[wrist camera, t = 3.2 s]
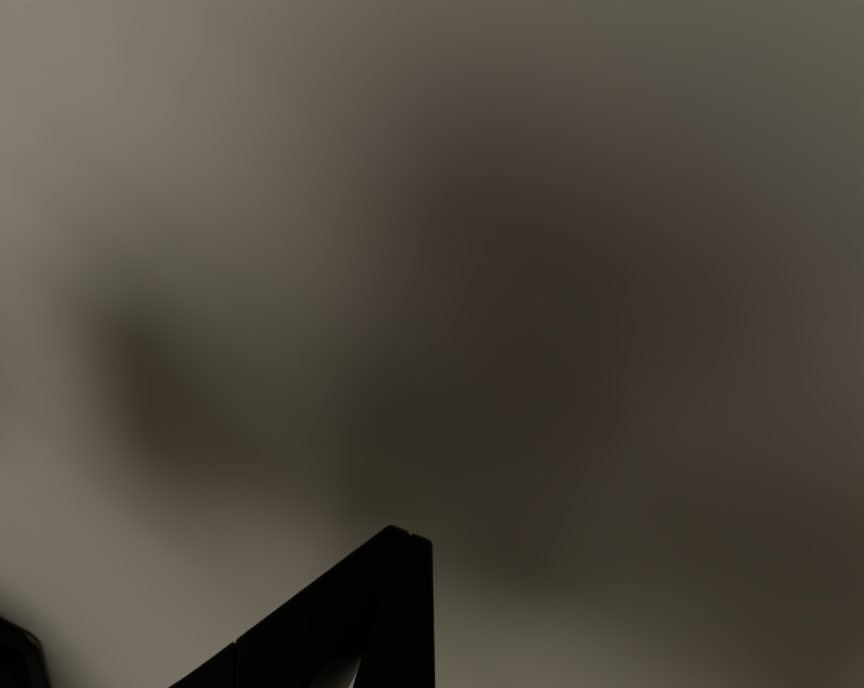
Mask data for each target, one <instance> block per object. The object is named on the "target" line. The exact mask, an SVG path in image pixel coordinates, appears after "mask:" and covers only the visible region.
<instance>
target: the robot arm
mask: <svg viewBox="0 0 864 688" xmlns="http://www.w3.org/2000/svg"><path fill="white" fill-rule="evenodd" d="M357 671H358V672H357ZM356 673H357V675H356V678H355V682H354V685H353V688H435V646H434V598H433V549H432V542H431V541H430V540H429V539H426V538H424V537H421V536H419V535H417V534H411V535H410V533H409V532H408V531H407V530H404V529H402V528H399V527H397V526H394V525H388V526H387V527H385V528H384V529H382V530H381V531H380V532H378V533H377V534H376V535H374V536H373V537H372V538H371V539H369V540H368V541H367V542H365V543H364V544H363V545H361V546H360V547H359V548H357V549H356V550H355V551H353V552H352V553H351V554H349V555H348V556H347V557H345V558H344V559H343V560H341V561H340V562H339V563H337V564H336V565H335V566H333V567H332V568H331V569H329V570H328V571H327V572H325V573H324V574H323V575H321V576H320V577H319V578H317V579H316V580H315V581H313V582H312V583H311V584H309V585H308V586H307V587H305V588H304V589H303V590H301V591H300V592H299V593H297V594H296V595H295V596H293V597H292V598H291V599H289V600H288V601H287V602H285V603H284V604H283V605H281V606H280V607H279V608H277V609H276V610H275V611H273V612H272V613H271V614H269V615H268V616H267V617H265V618H264V619H263V620H261V621H260V622H259V623H257V624H256V625H255V626H253V627H252V628H251V629H249V630H248V631H247V632H245V633H244V634H243V635H241V636H240V637H239V638H238V639H237V640H236V643H235V642H232V643H230V644H229V645H228V646H226V647H225V648H224V649H222V650H221V651H220V652H219V653H217V654H216V655H215V656H213V657H212V658H210V659H209V660H208V661H206V662H205V663H203V664H202V665H201V666H199V667H198V668H196V669H195V670H194V671H192V672H191V673H189V674H188V675H187V676H185V677H184V678H182V679H181V680H179V681H178V682H176V683H175V684H173V685H171V686H170V687H168V688H348V687H349V685H350V684H351V682H352V680H353V678H354V676H355V674H356ZM0 688H46V686H45V682H44V678H43V674H42V671H41V667H40V663H39V659H38V655H37V652H36V649H35V647H34V646H33V644H32V643H31V642H30V641H29V640H27V639H26V638H24V637H23V636H21V635H19V634H17V633H15V632H13V631H11V630H9V629H7V628H5V627H3V626H1V625H0Z"/></svg>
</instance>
